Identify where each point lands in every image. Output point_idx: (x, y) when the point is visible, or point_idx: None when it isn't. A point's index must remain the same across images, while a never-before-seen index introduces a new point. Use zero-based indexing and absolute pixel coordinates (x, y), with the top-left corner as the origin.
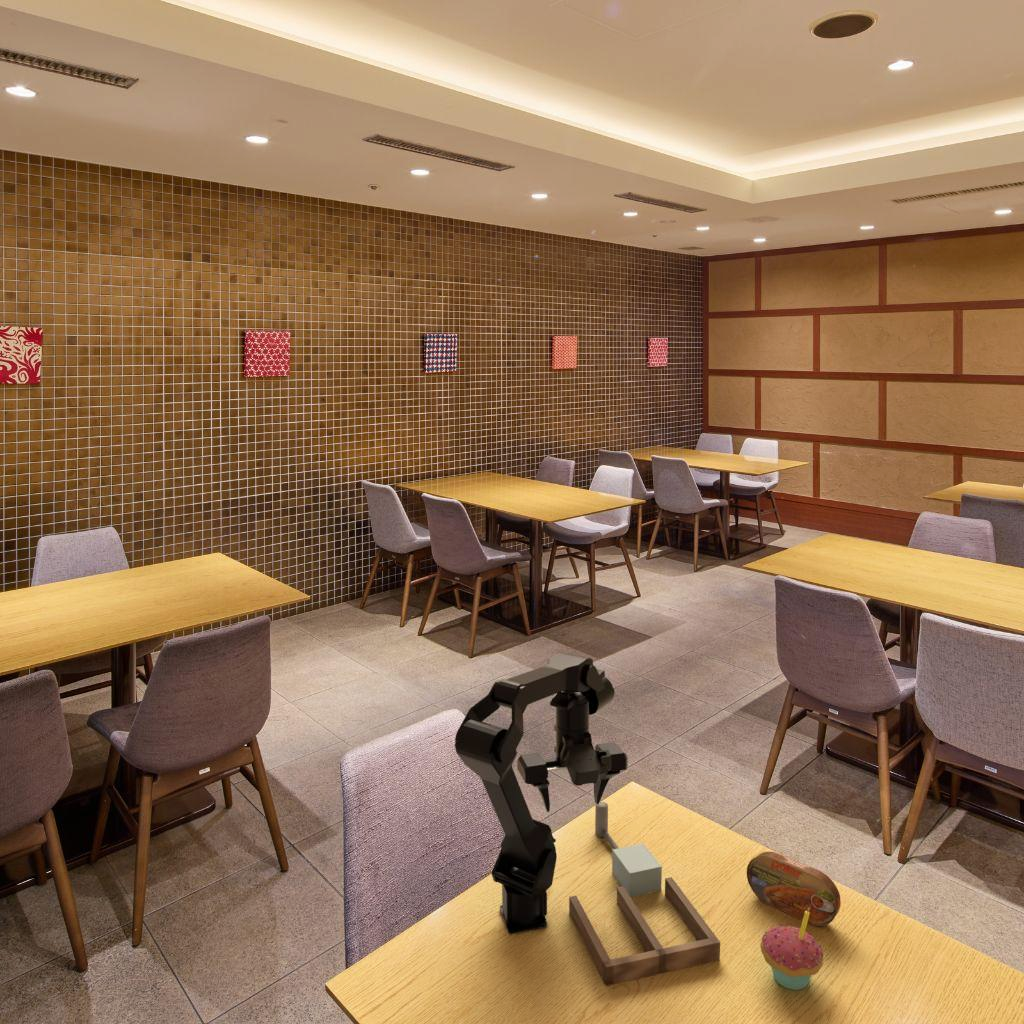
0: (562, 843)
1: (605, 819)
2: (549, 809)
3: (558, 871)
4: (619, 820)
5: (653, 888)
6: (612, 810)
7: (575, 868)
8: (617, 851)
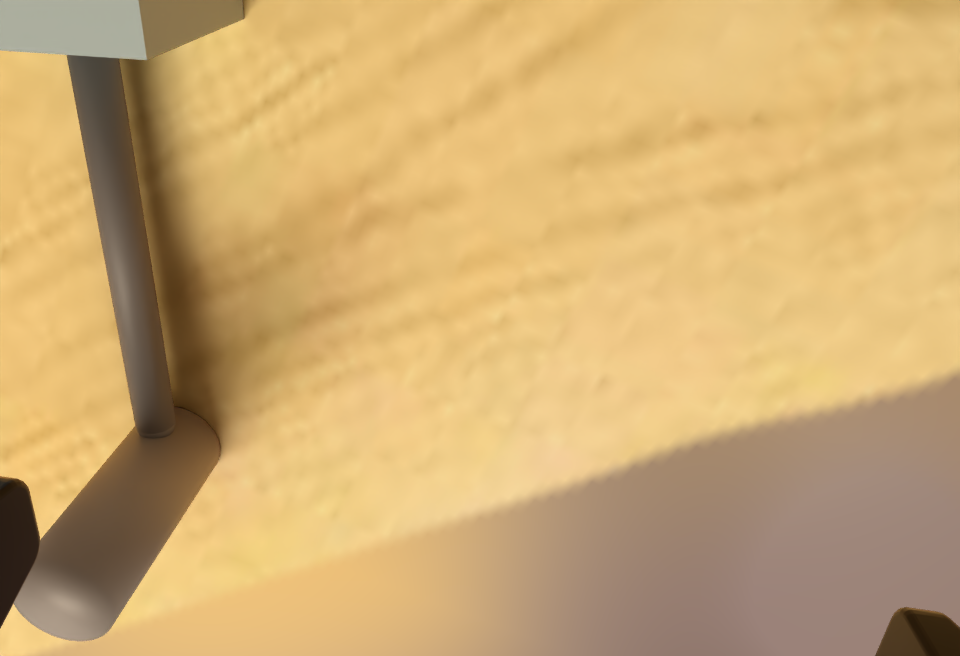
0: (471, 456)
1: (95, 490)
2: (928, 639)
3: (647, 196)
4: None
5: None
6: None
7: (504, 178)
8: (104, 8)
